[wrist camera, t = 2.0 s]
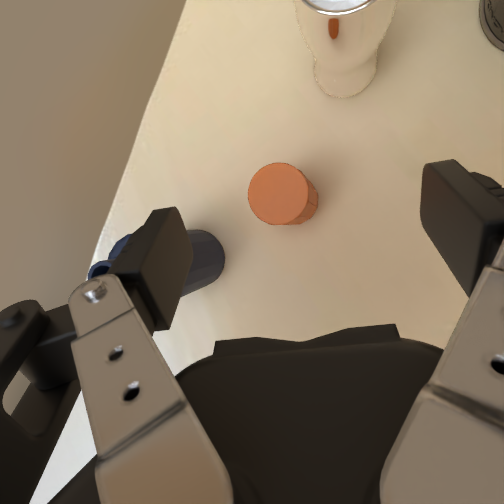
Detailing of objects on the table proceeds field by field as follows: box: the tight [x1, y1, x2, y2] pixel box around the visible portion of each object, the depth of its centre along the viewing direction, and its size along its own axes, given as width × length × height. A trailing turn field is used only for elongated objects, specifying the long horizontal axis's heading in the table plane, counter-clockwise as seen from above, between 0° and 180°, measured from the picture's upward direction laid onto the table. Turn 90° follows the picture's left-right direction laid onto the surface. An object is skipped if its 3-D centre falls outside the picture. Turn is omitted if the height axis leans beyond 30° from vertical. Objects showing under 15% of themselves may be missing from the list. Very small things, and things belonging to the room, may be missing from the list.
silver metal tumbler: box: [294, 0, 397, 98], centre depth 27 cm, size 7×7×15 cm
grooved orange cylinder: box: [248, 163, 318, 225], centre depth 33 cm, size 5×5×10 cm
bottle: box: [88, 230, 225, 297], centre depth 33 cm, size 7×7×16 cm
